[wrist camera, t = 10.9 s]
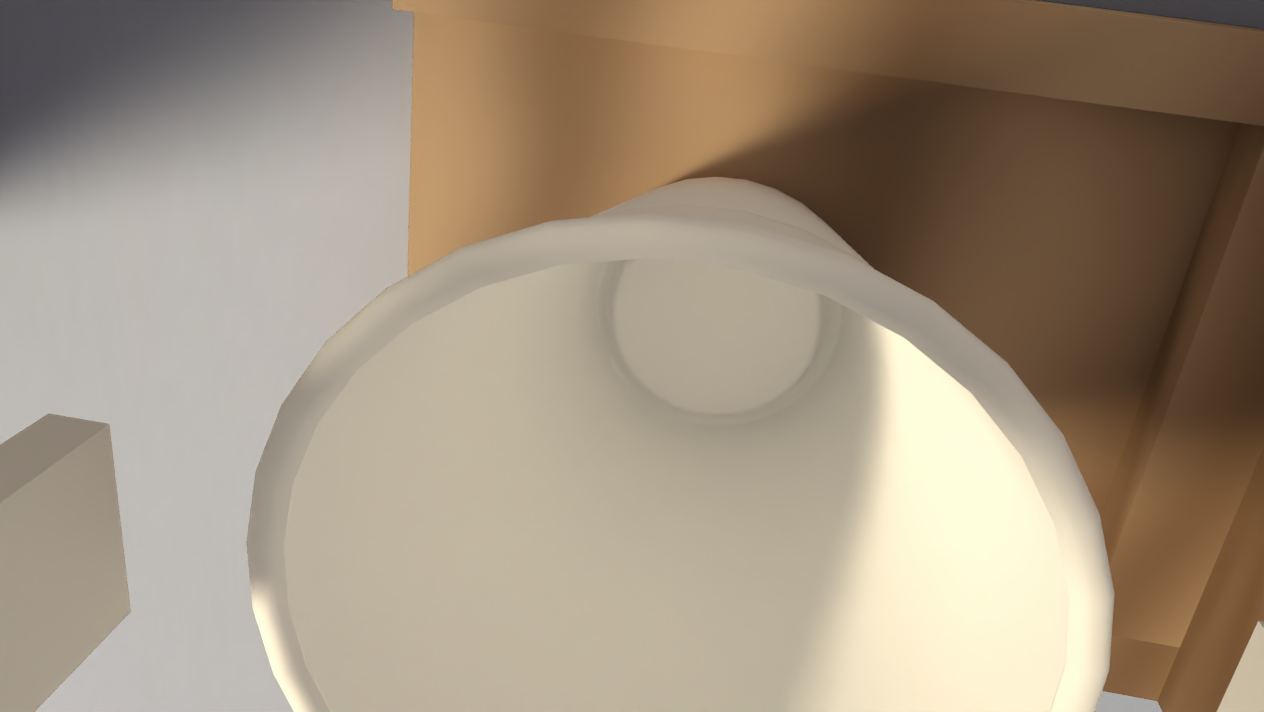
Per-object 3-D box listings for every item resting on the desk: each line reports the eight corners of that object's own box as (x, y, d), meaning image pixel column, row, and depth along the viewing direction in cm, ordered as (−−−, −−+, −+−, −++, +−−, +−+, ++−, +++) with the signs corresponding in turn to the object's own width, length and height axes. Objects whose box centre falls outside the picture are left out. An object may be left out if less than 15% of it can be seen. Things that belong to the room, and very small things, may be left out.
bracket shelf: (434, 480, 27) (253, 754, 18) (455, -73, 21) (208, -89, 12) (1168, 611, 25) (1385, 988, 16) (1397, 45, 20) (1926, 129, 11)
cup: (1013, 437, 21) (1216, 875, 11) (605, 559, 24) (474, 997, 14) (862, -9, 18) (954, 47, 8) (416, 188, 21) (81, 408, 11)
